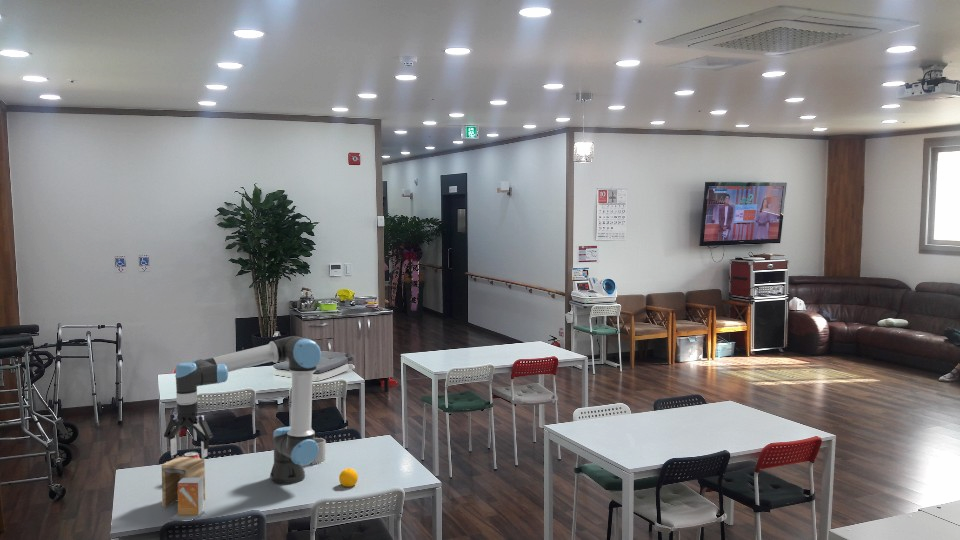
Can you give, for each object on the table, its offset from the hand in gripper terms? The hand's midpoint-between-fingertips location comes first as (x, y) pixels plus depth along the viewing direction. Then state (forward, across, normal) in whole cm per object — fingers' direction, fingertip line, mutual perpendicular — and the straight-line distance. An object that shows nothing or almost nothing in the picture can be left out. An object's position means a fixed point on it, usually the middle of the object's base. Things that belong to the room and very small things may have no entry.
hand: (189, 455), depth 293 cm
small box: (+22, -1, +1) cm, 22 cm away
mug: (+24, -19, -72) cm, 78 cm away
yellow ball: (+24, -48, -43) cm, 69 cm away
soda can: (+23, +22, -33) cm, 46 cm away
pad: (+23, -1, +4) cm, 23 cm away
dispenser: (+23, +9, -8) cm, 26 cm away
